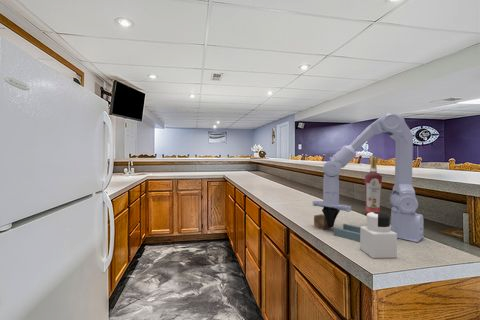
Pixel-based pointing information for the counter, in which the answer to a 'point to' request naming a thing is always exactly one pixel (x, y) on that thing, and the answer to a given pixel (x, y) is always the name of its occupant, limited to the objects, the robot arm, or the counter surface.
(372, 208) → the liquor
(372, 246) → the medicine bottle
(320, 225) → the walnut block
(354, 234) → the chute
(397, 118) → the robot arm
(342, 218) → the counter surface
